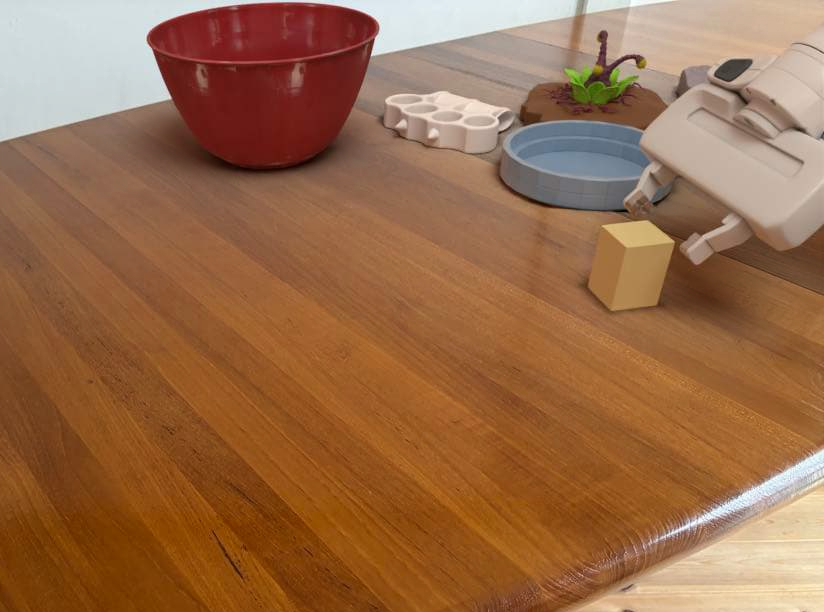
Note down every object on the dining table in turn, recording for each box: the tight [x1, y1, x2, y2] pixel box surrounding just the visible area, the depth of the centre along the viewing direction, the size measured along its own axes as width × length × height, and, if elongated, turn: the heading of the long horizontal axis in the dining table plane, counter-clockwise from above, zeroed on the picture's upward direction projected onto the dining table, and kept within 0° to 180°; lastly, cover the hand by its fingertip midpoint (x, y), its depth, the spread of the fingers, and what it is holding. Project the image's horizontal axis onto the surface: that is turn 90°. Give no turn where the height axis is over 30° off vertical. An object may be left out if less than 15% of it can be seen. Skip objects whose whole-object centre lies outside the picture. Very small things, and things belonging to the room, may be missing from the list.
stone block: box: [676, 64, 713, 98], centre depth 118 cm, size 12×5×10 cm
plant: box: [519, 29, 670, 131], centre depth 112 cm, size 20×20×11 cm
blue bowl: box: [499, 120, 674, 212], centre depth 97 cm, size 20×20×4 cm
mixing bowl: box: [146, 1, 381, 170], centre depth 105 cm, size 28×28×16 cm
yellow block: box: [587, 219, 676, 312], centre depth 74 cm, size 4×4×7 cm
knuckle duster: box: [383, 90, 515, 155], centre depth 112 cm, size 3×18×15 cm
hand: (656, 232), depth 72 cm, fingers open, 8 cm apart
